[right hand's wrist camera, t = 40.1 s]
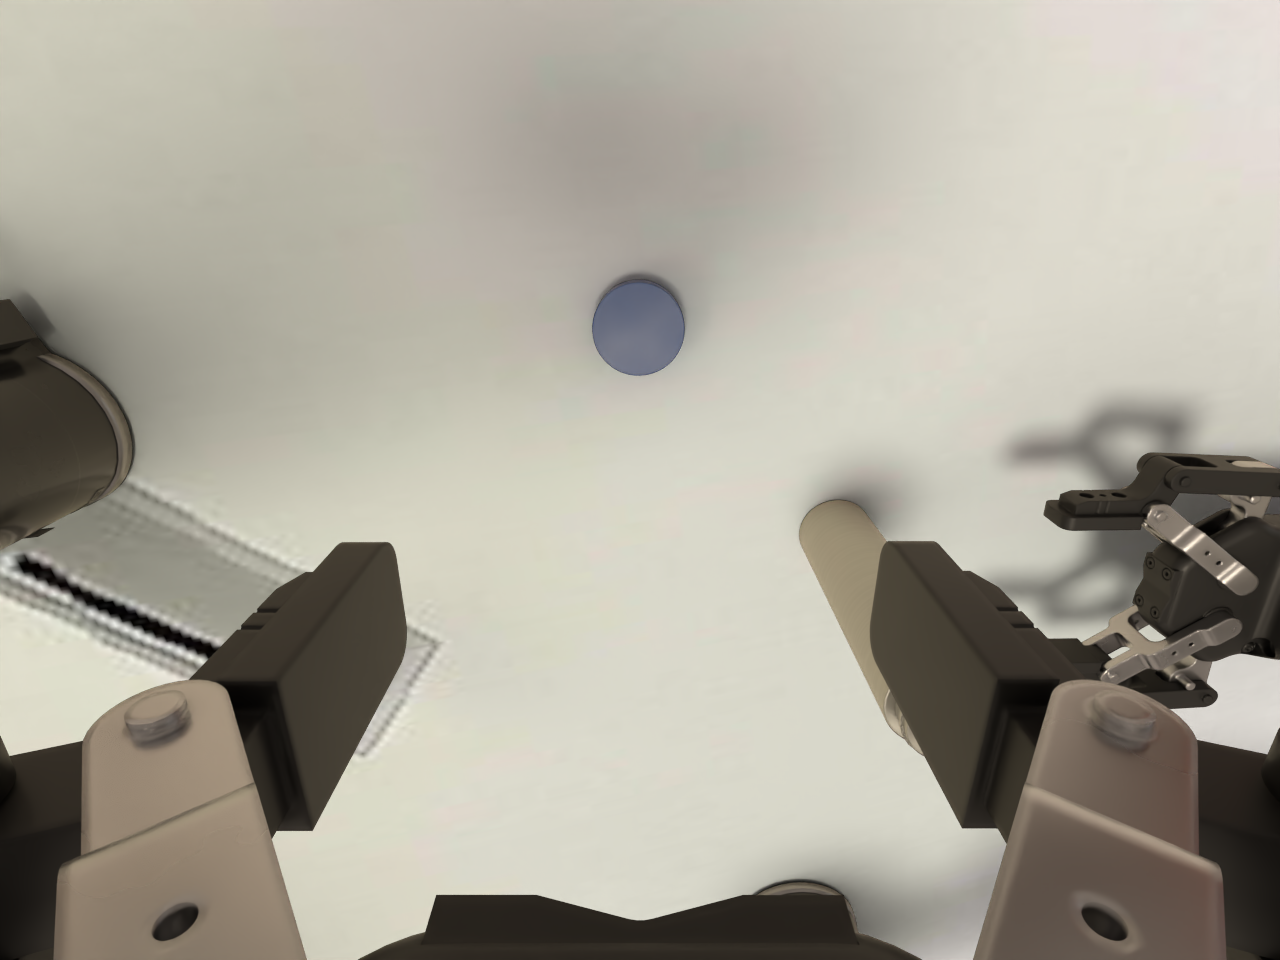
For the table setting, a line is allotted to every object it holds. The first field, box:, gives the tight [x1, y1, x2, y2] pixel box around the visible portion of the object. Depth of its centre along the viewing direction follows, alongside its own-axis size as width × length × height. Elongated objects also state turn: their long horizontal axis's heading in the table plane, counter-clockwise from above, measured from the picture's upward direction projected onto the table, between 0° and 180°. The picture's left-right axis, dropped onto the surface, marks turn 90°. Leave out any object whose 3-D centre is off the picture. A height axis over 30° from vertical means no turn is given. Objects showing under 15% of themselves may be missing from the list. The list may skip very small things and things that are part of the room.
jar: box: [799, 500, 924, 756], centre depth 34 cm, size 4×4×17 cm
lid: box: [592, 280, 685, 376], centre depth 36 cm, size 5×5×2 cm
